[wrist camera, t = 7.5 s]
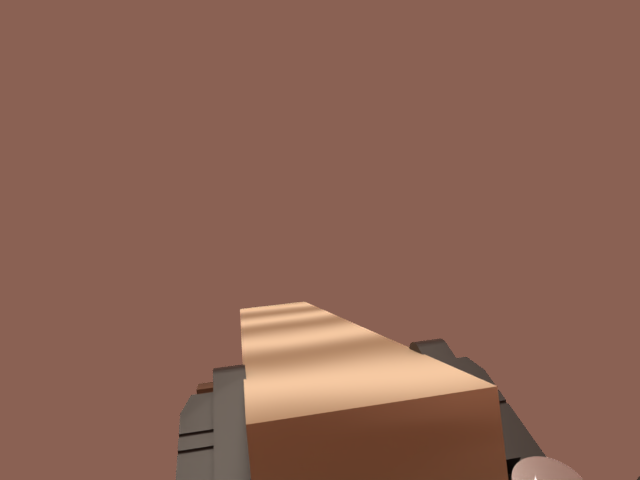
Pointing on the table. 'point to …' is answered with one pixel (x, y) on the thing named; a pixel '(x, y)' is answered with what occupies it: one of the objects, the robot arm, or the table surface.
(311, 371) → the brown wooden block
